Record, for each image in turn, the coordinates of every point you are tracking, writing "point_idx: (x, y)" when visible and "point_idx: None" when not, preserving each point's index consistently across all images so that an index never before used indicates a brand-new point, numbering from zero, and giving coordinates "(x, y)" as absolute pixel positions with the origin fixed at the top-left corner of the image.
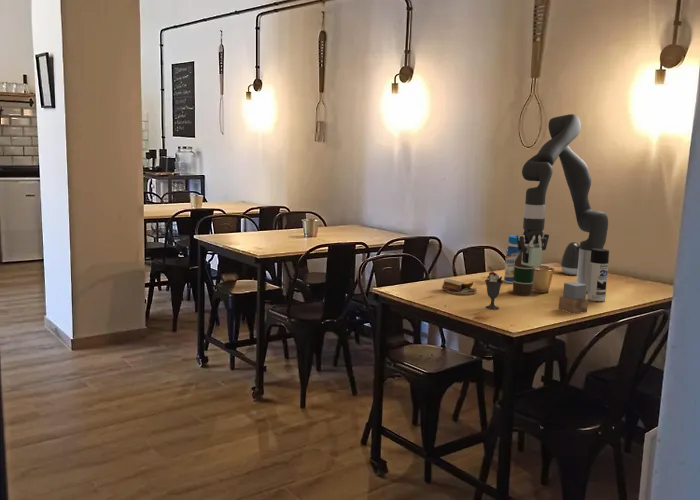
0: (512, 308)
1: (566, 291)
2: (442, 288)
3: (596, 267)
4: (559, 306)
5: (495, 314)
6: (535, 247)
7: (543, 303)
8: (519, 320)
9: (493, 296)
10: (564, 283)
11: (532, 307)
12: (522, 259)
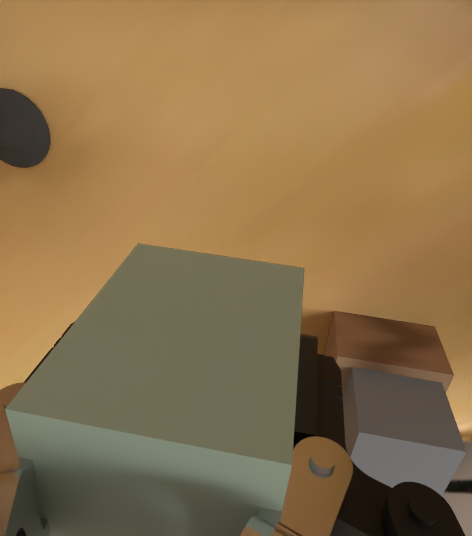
0: (117, 191)
1: (349, 410)
2: None
3: None
4: (333, 324)
5: None
6: None
7: (378, 197)
8: (23, 334)
9: None
10: (358, 432)
11: (236, 228)
12: (67, 330)
